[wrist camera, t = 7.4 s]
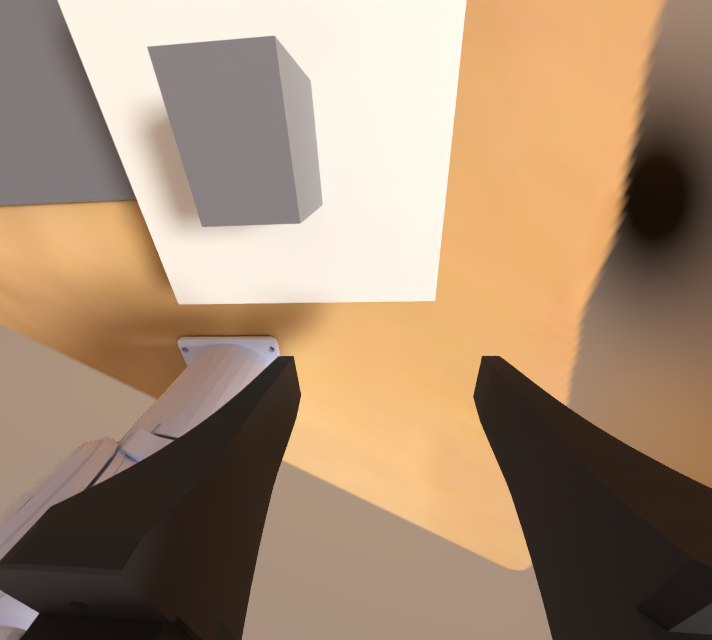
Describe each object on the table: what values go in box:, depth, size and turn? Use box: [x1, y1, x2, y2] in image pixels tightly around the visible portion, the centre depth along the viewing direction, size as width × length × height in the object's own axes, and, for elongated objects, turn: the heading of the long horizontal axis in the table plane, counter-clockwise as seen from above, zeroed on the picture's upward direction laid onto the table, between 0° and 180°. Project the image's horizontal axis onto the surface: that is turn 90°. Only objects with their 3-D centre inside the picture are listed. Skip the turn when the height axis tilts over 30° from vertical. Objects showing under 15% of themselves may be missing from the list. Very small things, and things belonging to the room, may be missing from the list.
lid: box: [58, 0, 466, 304], centre depth 9 cm, size 13×13×5 cm
